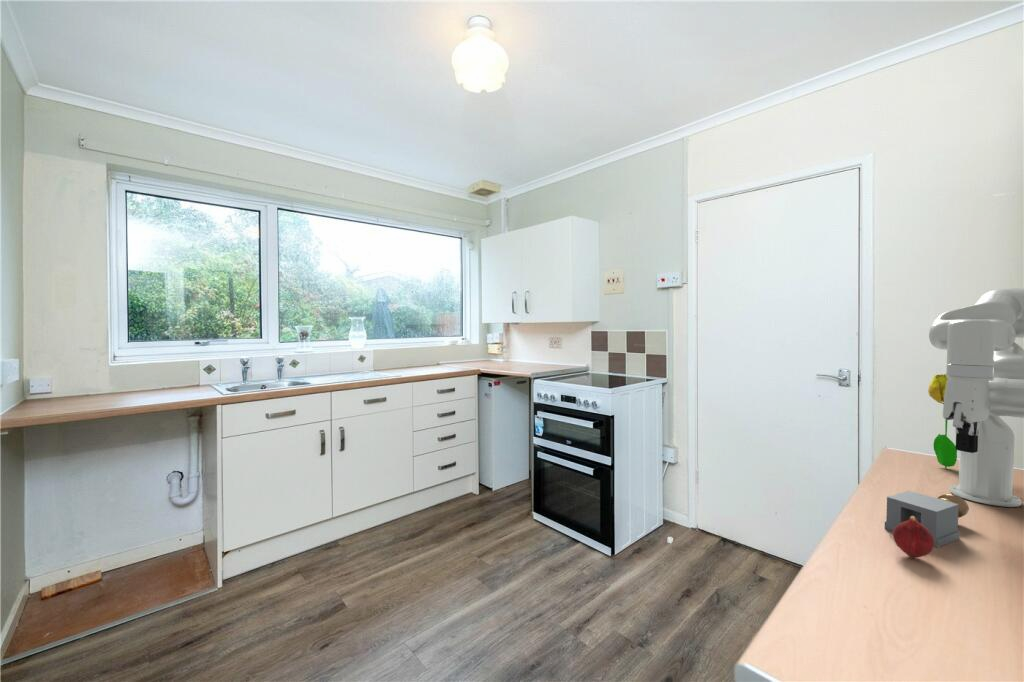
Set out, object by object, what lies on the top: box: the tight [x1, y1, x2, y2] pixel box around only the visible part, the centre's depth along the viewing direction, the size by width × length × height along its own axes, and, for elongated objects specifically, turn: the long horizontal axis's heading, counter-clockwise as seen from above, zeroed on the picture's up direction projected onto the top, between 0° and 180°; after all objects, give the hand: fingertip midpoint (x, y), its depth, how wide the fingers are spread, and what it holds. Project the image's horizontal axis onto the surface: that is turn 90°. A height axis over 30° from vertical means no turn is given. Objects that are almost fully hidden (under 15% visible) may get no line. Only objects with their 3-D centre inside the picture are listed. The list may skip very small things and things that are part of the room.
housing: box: [884, 490, 961, 548], centre depth 93 cm, size 9×9×7 cm
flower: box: [927, 373, 958, 469], centre depth 136 cm, size 9×8×30 cm
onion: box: [892, 516, 935, 559], centre depth 83 cm, size 6×6×8 cm
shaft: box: [919, 493, 970, 519], centre depth 96 cm, size 13×5×5 cm, turn 114°
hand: (966, 451), depth 101 cm, fingers closed
